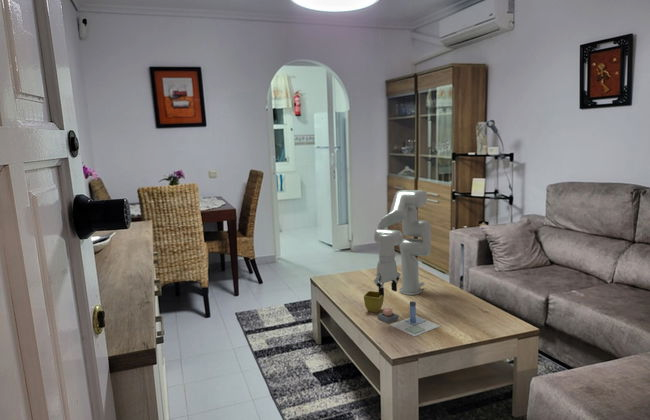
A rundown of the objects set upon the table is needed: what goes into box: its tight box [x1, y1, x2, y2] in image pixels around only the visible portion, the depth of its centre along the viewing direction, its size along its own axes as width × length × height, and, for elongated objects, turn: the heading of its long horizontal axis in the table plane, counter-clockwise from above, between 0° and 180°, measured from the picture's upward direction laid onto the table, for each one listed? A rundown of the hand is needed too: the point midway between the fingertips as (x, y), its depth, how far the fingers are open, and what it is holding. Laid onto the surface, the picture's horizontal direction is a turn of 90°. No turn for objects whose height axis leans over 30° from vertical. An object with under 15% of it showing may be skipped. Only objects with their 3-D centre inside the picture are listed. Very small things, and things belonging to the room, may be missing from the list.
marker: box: [409, 300, 417, 323], centre depth 212 cm, size 3×3×10 cm
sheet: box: [389, 315, 441, 338], centre depth 209 cm, size 17×16×1 cm
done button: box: [383, 307, 394, 317], centre depth 218 cm, size 4×4×3 cm
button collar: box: [377, 312, 399, 324], centre depth 218 cm, size 7×7×2 cm
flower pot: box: [363, 290, 385, 313], centre depth 230 cm, size 9×9×9 cm
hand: (387, 292), depth 216 cm, fingers open, 7 cm apart
